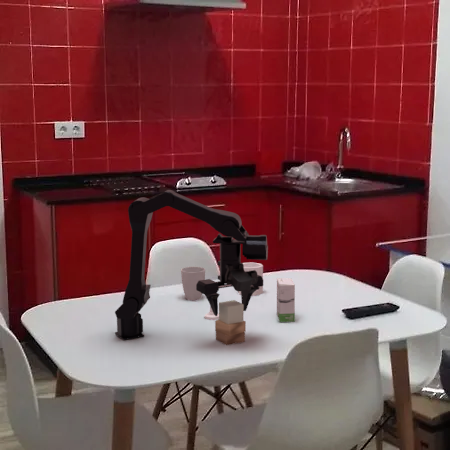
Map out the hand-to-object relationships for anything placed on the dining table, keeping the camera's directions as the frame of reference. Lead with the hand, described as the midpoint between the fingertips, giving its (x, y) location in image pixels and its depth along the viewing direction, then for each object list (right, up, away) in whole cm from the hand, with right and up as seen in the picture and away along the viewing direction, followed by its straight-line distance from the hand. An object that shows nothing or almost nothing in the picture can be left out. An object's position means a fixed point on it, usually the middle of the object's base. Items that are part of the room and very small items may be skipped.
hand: (230, 313), depth 213 cm
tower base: (0, -8, +1) cm, 8 cm away
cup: (-12, 0, +43) cm, 45 cm away
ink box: (+17, -4, +21) cm, 28 cm away
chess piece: (-5, -4, +22) cm, 23 cm away
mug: (+6, +1, +52) cm, 52 cm away
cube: (0, -2, 0) cm, 2 cm away
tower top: (0, -5, +1) cm, 5 cm away
